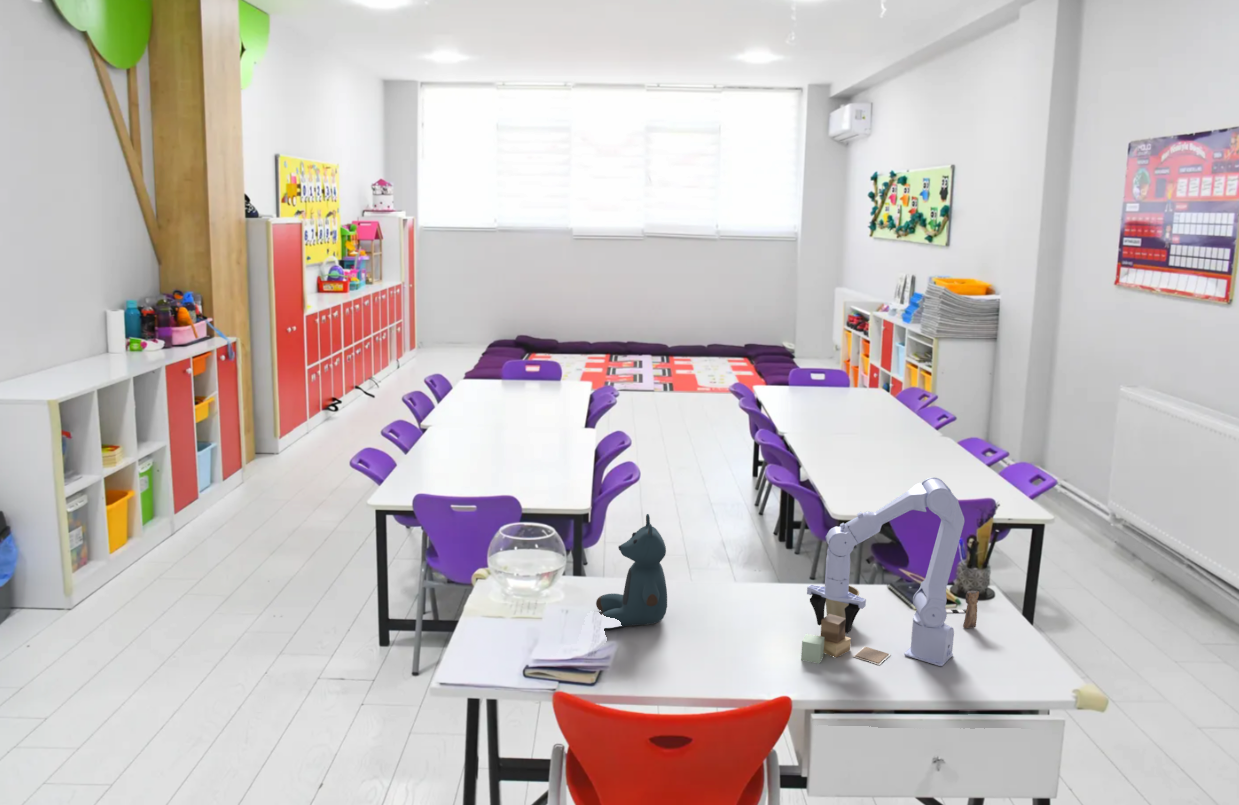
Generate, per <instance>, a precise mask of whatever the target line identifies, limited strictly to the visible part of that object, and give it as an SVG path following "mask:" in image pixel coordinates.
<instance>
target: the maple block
mask: <svg viewBox="0 0 1239 805" xmlns="http://www.w3.org/2000/svg"><path fill="white" fill-rule="evenodd" d="M819 636H821V634H820V635H819ZM851 640H852V639H851V637H848V636H846V635H845V638H844V639H842V640H841V641H840V642H839V643H838V644H837V643H833V642H830V641H827V640H824V654H825V653H826V654H825V655H827V654H828V656H830V655H831V656H830V657H832V656H834V657H837V658H838V657H840V656H842V655H844V654H847V653H849V652H850V651H851V643H852V642H851ZM834 657H833V658H834Z"/></svg>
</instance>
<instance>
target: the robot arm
mask: <svg viewBox="0 0 1239 805" xmlns="http://www.w3.org/2000/svg"><path fill="white" fill-rule="evenodd" d="M926 508H928V510H929V511H931V513H933V514H935V515H937V516H938V518H939V519H940V523H939V528H938V531H937V535H936V539H935V543H934V546H933V549H932V553H931V555H930V556H931V557H930V560H929V563H928V564H929V565H928V567H927V571H926V575H925V579H924V580H922V581H921V582H920V585H919V586H920V587H919V589H918V590H917V591H916V592H915V593H914V594H913V597H912V603H913V606H914V608H915V609H916V611H915V612H914V615H912V626H911V638H910V639H911V641H910V647H909V648H908V649H907V650H906V651H905V652H904V653H903V654H904V656H906V657H909V658H913V659H916V660H918V661H921V662H926V663H929V664H932V665H935V666H939V667H943V666H944V665H945V664H946V663H947V662H948V661H949V660H950V659H951V658H952V657H953V655H954V653H953V650H954V649H953V648H954V647H953V646H954V636H955V630H954V627H952V626H950V625H948V624H947V623H945V621H946V620H947V618H948V616H947V614H948V613H947V612H946V610H947V609H946V606H947V605H946V604H947V597H948V596H947V586H948V583H949V579H950V576H951V572H952V568H953V565H954V561H955V558H956V554H957V550H958V546H959V543H960V539H961V536H962V532H963V529H964V525H965V516H964V514H963V510H962V509H961V505H960V502H959V500H958V498H957V497H956V496H955V495H954V493H953V492H952V490H951V489H950V487H949V486H948V485H947V484H946V483H945V481H943V480H942V479H941V478H938V477H936V476H935V477H928V478H926V479H924V480H922V482H918V483H915V484H914V485H913V486H912V487H910V489H908V490H907V491H905V492H904V493H902V494H901V495H899V496H898V497H896V498H895V499H893V500H891V501H890V502H888V503H886V504H885V505H884V506H882V507H880V508H879V509H877V510H876V511H868V510H867V511H864V512H862V511H860V512H857V514H856V517H854V518H852V519H850V520H849V521H847V522H846V523H844V522H842V523H840V524H839V526H837V525H836V526H834V527H831V528H830V529H829V530H828V532H827V533H826V535H825V541H826V543H827V545H828V546H827V550H826V554H827V555H826V560H825V576H824V586H825V587H824V586H822V585H821V586H820V585H814V584H809V585H808V586H807V587H806V588H807V589H806V595H809V596H810V598H809V603H810V604H811V606H812V609H813V611H814V614H815V619H816V622H817V626H821V620H822V619H823V618H824V617H825V609H826V598H827V599H830V600H834V601H839V602H843V603H847V604H849V605H848V606H847V607H846V608H845V617H846V623H845V634H849V633H850V632H851V631H852V628H853V627H852V626H853V624H854V621H855V620H856V617H857V615H858V613H859V612H860V610H861V609H864V608H865V607H866V605H867V604H866V602H867V599H866V598H864V597H861V596H857V595H854V594H852V593H850V592H848V590H849V586H850V572H851V553H853V550H854V547H855V546H858V545H859V544H861V543H862V542H864V541H867V540H868V539H869V538H871V537H873V536H875V535H877V534H878V533H880V532H881V529H882V526H883V525H884V524H886V523H888V522H890V521H892V520H894V519H896V518H898V517H900V516H902V515H904V514H905V513H908V512H910V511H917V512H918V511H919V512H923V513H927V509H926Z"/></svg>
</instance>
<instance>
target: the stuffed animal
mask: <svg viewBox="0 0 1239 805" xmlns="http://www.w3.org/2000/svg"><path fill="white" fill-rule="evenodd" d="M618 550H619V551H620V553H621V554H622V556H623V557H626V558H628V559H629V560H631V561H633V563H632V565H631V566H630V567H629V569H628V570H627V574H626V579H625V583H624V589H623V594H620V593H605V594H603V595H599V597H597V599H596V602H595V605H596V608H597V609H598V611H600V610H601V614H603V615H604V616H606V617H610V618H615V619H617V620H619V621H620V622H621V625H622V626H623V627H628V626H637V625H638V626H639V625H640V626H641V625H643V626H644V625H653V624H656V623H659V622H661V621H662V620H663V619H664V617H665V615H666V614H667V608H668V589H667V581H666V576H665V572H664V569H663V566H662V564H661V562H662V561H663V559H664V558H665V557H666V554H667V548H666V543H665V540H664V539H663V537H662V535H661V533H660V532H659V531H658V529H657V528H656V527H654V526H653V525H652V523H651V518H650V514H649V513H647V514H646V515H645V525H644V526H642V527H640V528H639V529H638V530H637V531H636V532H632V534H631V537H630V538H629V539H628V540H627V541H626V542H624V543H621V545H618ZM602 611H603V612H602Z"/></svg>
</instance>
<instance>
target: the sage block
mask: <svg viewBox="0 0 1239 805" xmlns="http://www.w3.org/2000/svg"><path fill="white" fill-rule="evenodd" d="M824 638H825V637H822V636H820V635H816V634H815V635H814V634H810V633H805V635H804V637H803V639H802V641H801V652H800V654H801V655H800V656H801V657H800V660H801V661H803V660H804V662H808V661H809V663H813V662H815V664H819V663H820V664H821V662H822V660H823V658H822V657H824V654H825V653H824ZM821 659H822V660H821ZM820 661H821V662H820Z"/></svg>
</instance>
